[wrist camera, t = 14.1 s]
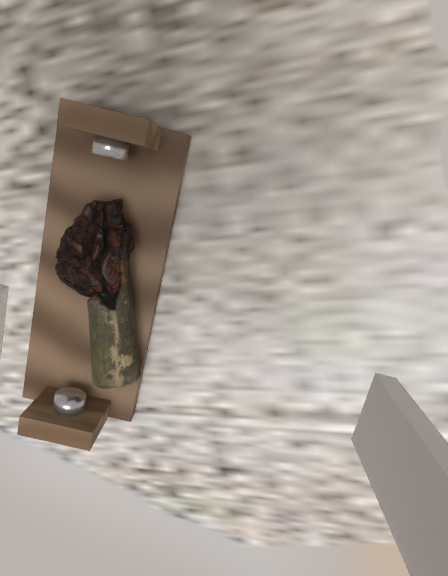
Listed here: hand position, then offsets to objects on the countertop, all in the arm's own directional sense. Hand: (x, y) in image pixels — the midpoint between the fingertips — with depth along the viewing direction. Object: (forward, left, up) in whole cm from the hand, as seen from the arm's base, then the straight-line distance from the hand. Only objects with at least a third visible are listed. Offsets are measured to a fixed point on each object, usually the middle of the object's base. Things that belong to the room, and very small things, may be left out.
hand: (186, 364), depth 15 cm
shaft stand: (+6, -11, -29) cm, 31 cm away
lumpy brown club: (+7, -10, -27) cm, 30 cm away
